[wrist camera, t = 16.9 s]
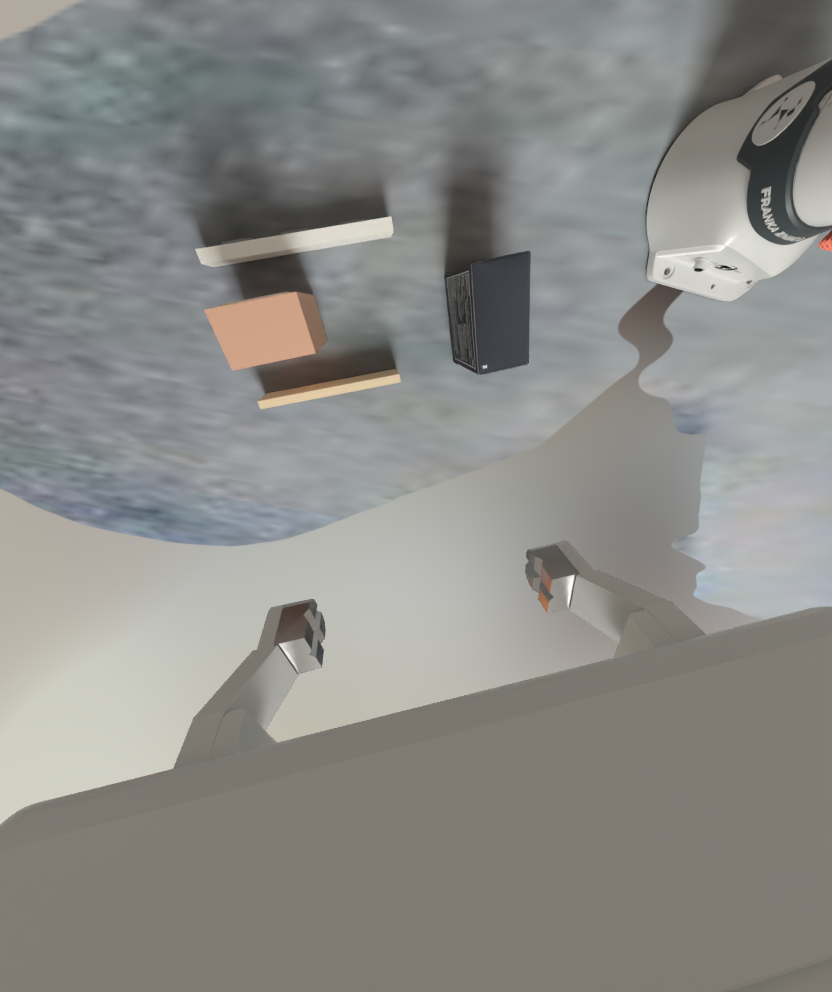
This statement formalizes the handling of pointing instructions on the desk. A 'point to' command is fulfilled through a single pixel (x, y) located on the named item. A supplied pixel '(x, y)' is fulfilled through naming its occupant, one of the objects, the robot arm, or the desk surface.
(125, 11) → the desk surface
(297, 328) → the carton
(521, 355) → the small box
